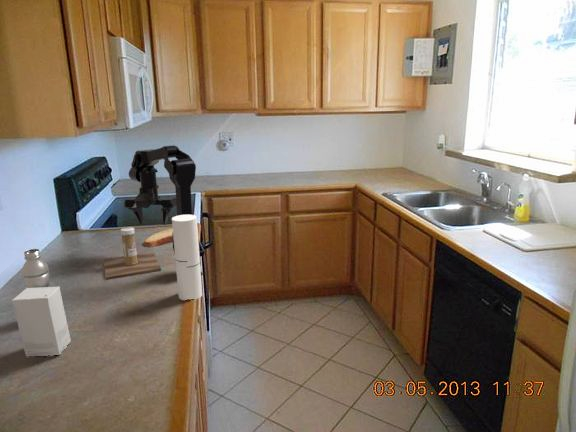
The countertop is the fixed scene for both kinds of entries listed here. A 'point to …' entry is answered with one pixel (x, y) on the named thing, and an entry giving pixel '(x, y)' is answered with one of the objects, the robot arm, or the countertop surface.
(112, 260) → the walnut board
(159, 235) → the slice of bread
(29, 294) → the skincare box
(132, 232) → the sprinkles bottle
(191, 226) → the cylindrical container
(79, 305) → the countertop surface
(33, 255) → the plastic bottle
